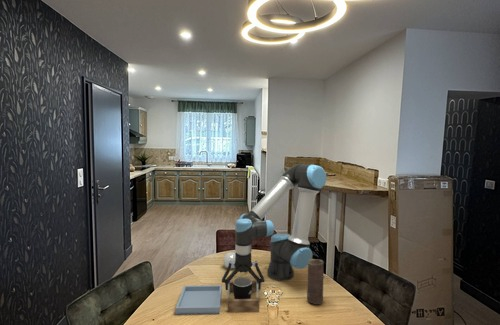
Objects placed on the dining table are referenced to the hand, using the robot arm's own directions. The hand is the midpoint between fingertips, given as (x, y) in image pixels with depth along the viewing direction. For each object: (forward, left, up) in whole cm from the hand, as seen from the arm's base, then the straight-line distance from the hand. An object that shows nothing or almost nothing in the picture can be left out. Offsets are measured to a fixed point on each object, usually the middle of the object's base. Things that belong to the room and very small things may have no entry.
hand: (243, 296), depth 129 cm
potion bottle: (+6, -38, -2) cm, 39 cm away
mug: (0, 0, -2) cm, 2 cm away
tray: (+20, 0, -2) cm, 20 cm away
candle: (-34, +2, -2) cm, 34 cm away
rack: (0, 0, -2) cm, 2 cm away
